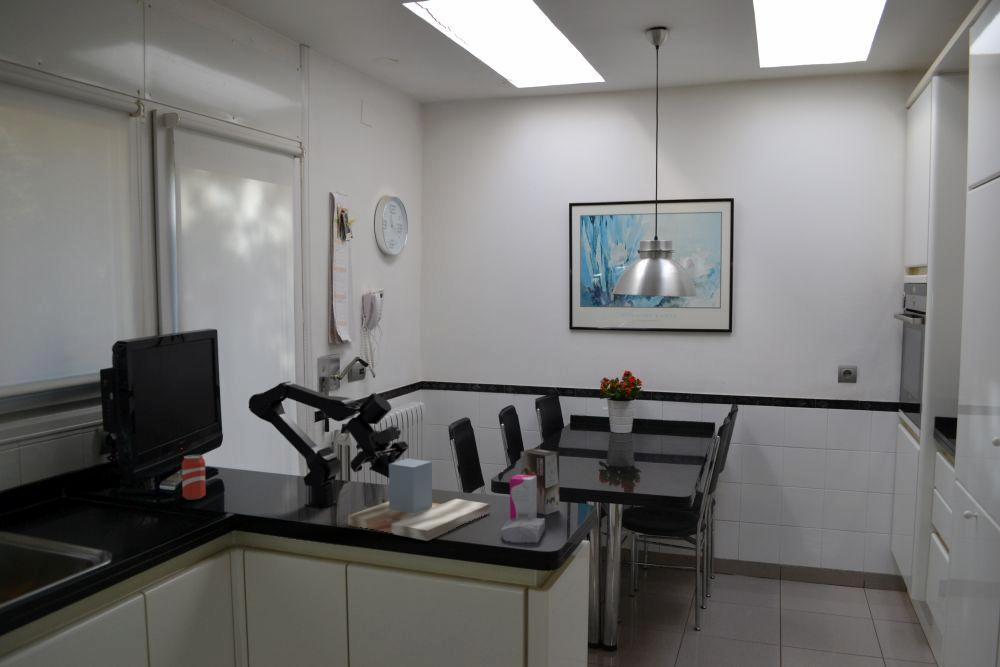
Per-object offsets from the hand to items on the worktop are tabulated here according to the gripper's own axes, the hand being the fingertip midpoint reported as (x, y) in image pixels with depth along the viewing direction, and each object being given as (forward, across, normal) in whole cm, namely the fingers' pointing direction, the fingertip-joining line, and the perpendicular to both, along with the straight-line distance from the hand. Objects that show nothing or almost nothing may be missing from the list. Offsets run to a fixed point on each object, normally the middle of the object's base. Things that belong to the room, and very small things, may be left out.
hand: (397, 480), depth 213 cm
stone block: (+33, +1, -19) cm, 39 cm away
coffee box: (+28, +24, -14) cm, 40 cm away
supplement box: (+29, +13, -15) cm, 35 cm away
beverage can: (-38, -16, +50) cm, 65 cm away
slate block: (+8, 0, +2) cm, 8 cm away
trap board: (+12, 0, +1) cm, 12 cm away
